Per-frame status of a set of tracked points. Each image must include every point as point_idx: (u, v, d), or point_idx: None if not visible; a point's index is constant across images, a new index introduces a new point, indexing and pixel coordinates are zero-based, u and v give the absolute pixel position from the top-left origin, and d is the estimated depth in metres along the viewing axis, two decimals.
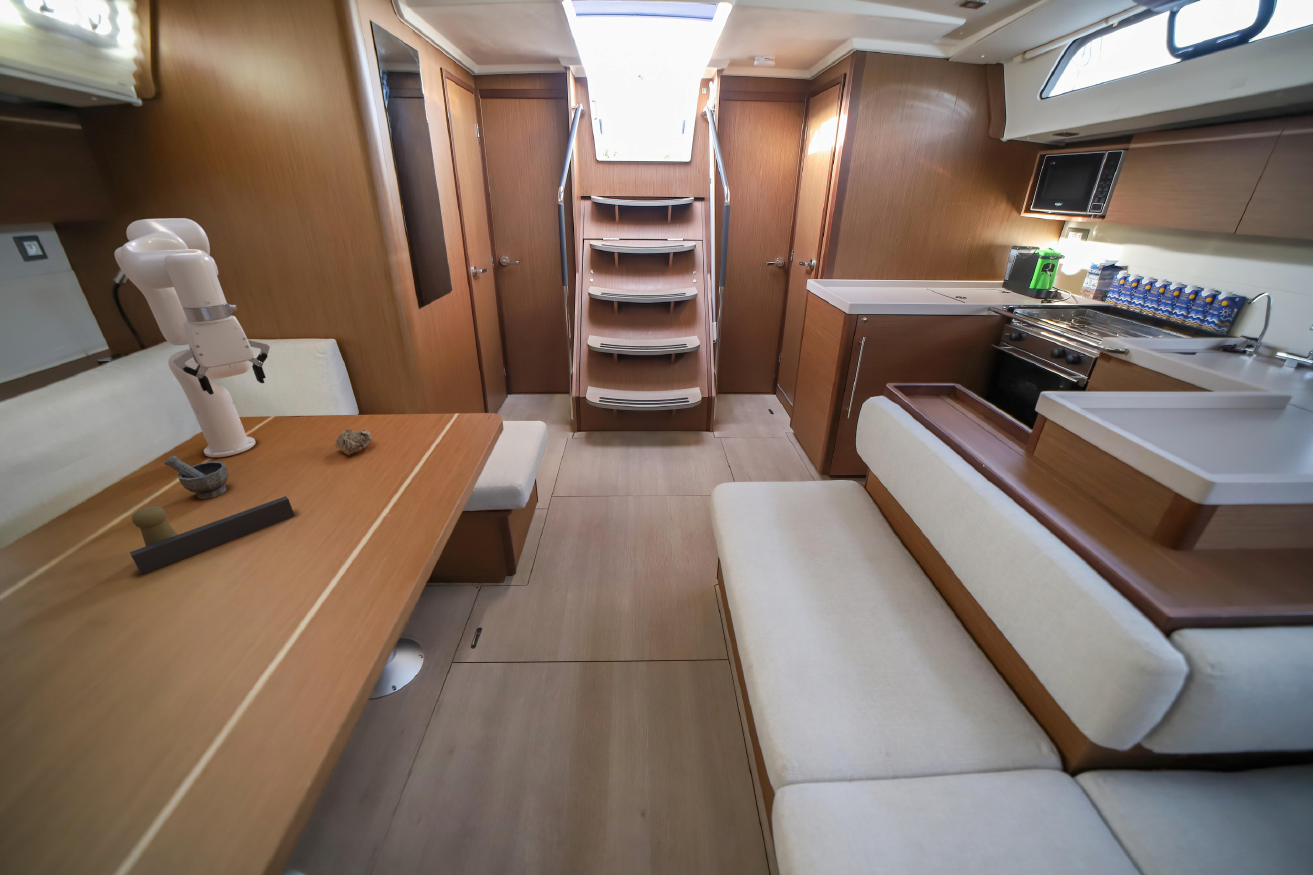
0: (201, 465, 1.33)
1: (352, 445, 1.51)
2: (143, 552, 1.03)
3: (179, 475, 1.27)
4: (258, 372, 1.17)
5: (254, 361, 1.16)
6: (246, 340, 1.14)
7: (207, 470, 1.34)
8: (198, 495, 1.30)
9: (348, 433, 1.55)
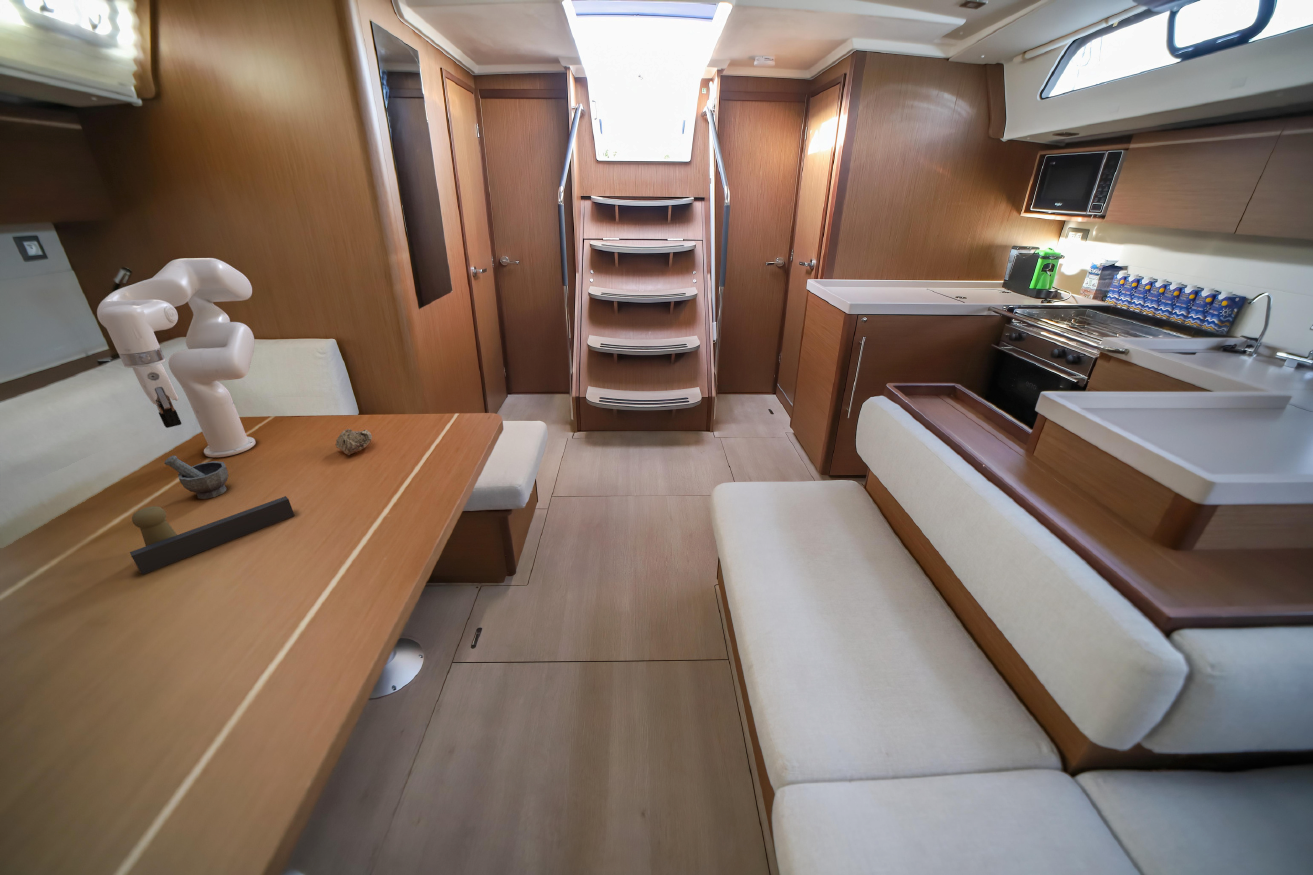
0: (201, 465, 1.33)
1: (352, 445, 1.51)
2: (143, 552, 1.03)
3: (179, 475, 1.27)
4: None
5: (158, 407, 1.26)
6: (146, 388, 1.22)
7: (207, 470, 1.34)
8: (198, 495, 1.30)
9: (348, 433, 1.55)
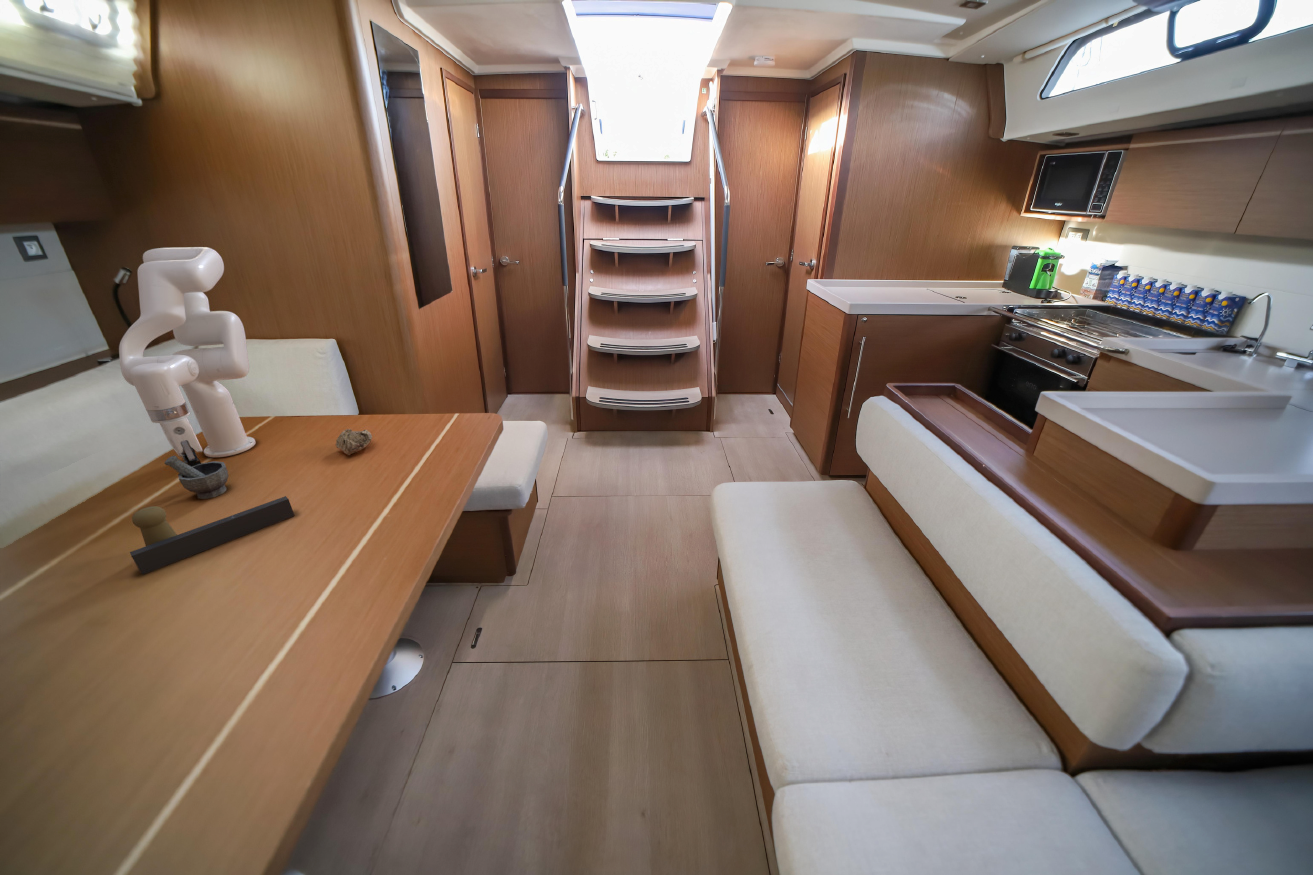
0: (202, 465, 1.33)
1: (352, 445, 1.51)
2: (143, 552, 1.03)
3: (179, 475, 1.27)
4: None
5: (183, 458, 1.31)
6: (173, 442, 1.26)
7: (207, 470, 1.34)
8: (198, 495, 1.30)
9: (348, 433, 1.55)
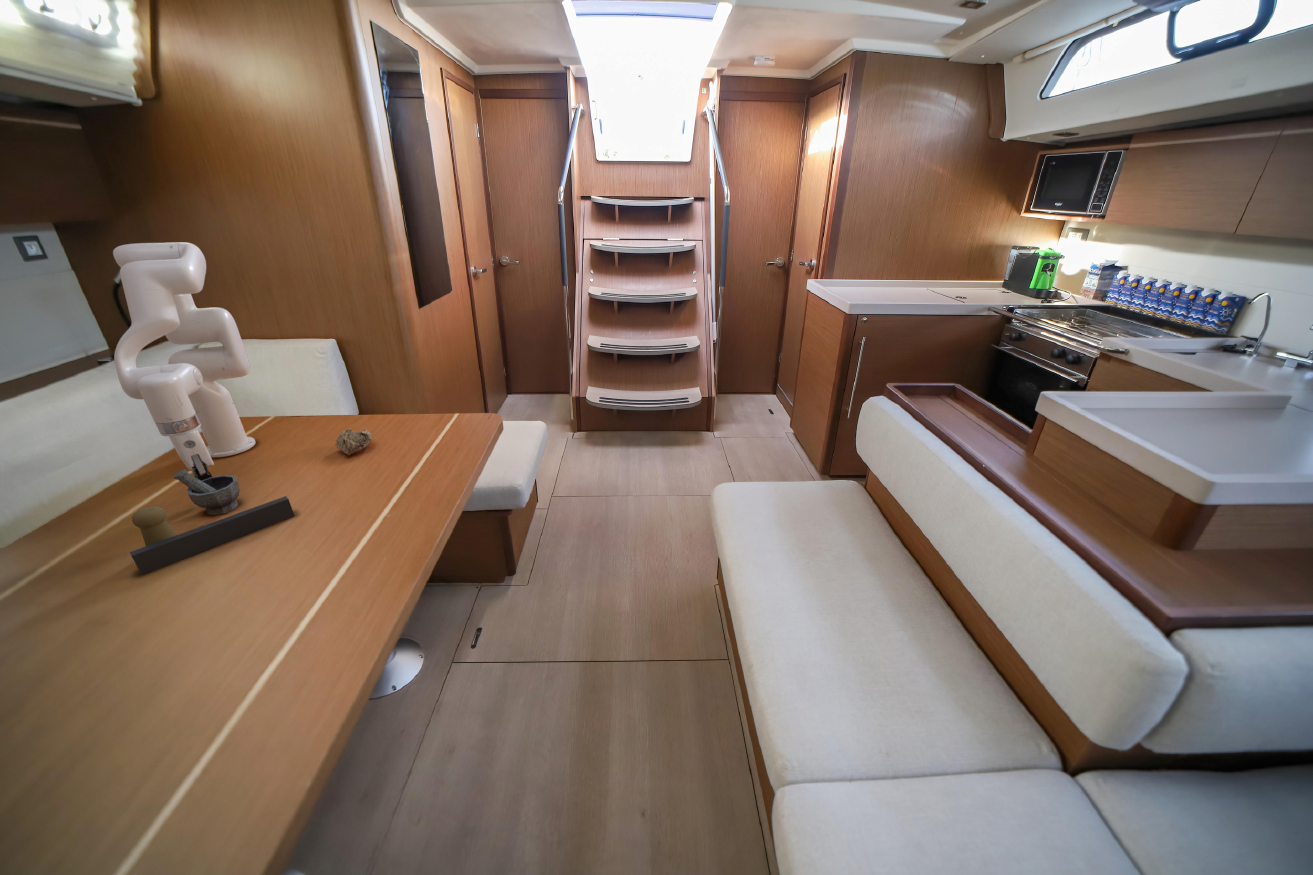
0: (213, 479, 1.26)
1: (352, 445, 1.51)
2: (143, 552, 1.03)
3: (189, 490, 1.21)
4: None
5: (193, 472, 1.25)
6: (183, 456, 1.20)
7: (218, 484, 1.27)
8: (208, 511, 1.24)
9: (348, 433, 1.55)
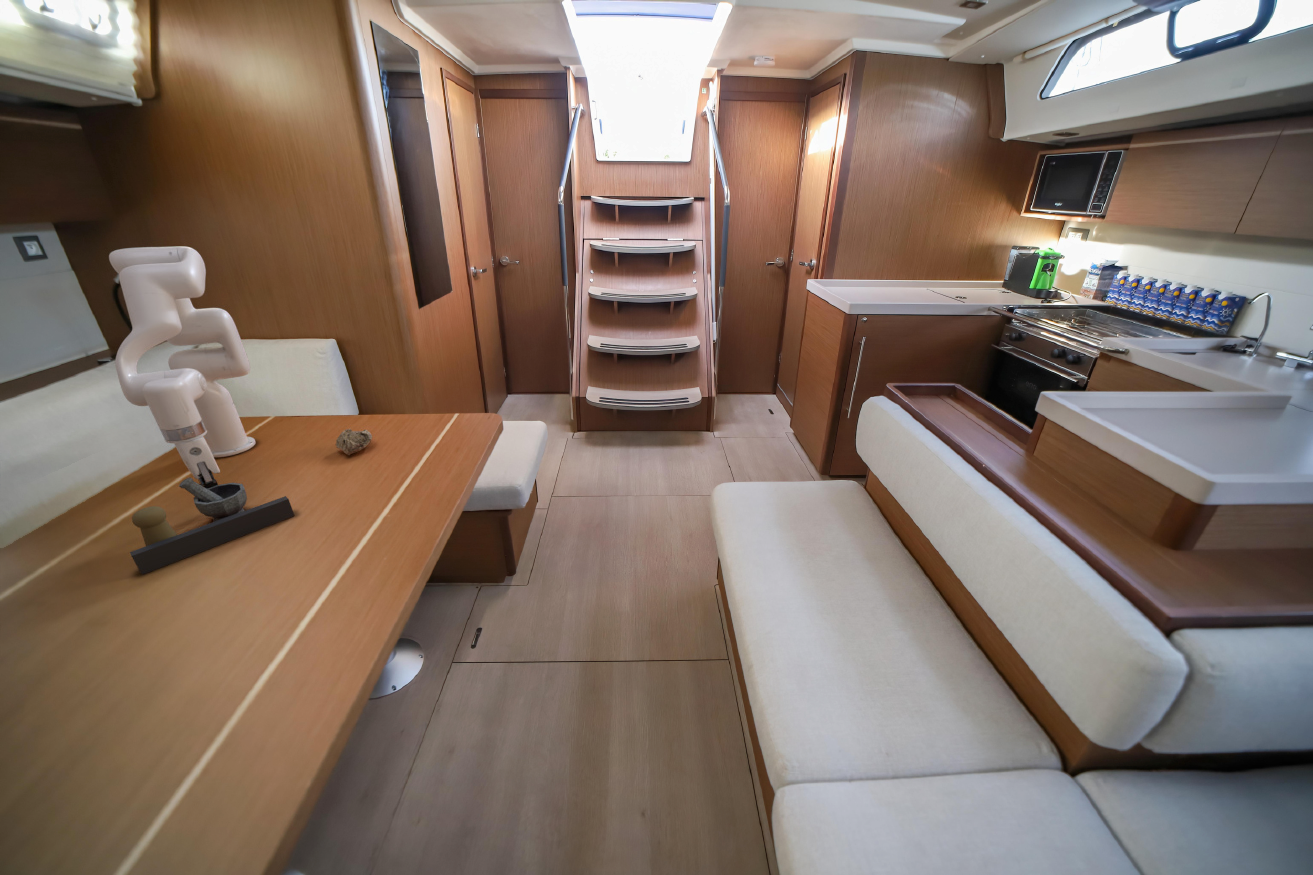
0: (219, 487, 1.23)
1: (352, 445, 1.51)
2: (143, 552, 1.03)
3: (195, 499, 1.18)
4: None
5: (199, 480, 1.21)
6: (188, 464, 1.16)
7: (225, 493, 1.24)
8: (215, 520, 1.20)
9: (348, 433, 1.55)
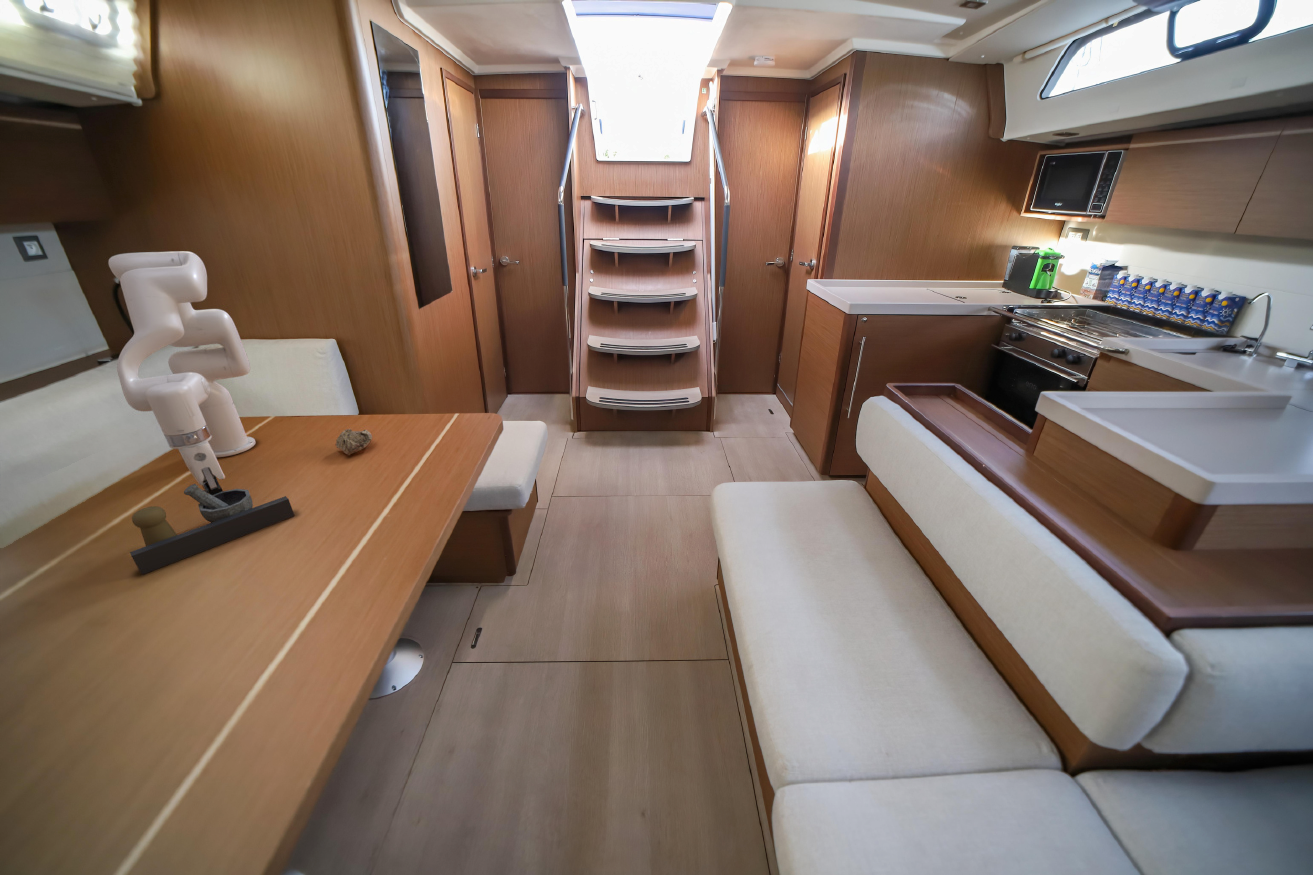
0: (224, 493, 1.21)
1: (352, 445, 1.51)
2: (143, 552, 1.03)
3: (200, 506, 1.15)
4: None
5: (203, 486, 1.19)
6: (193, 470, 1.14)
7: (230, 499, 1.22)
8: None
9: (348, 433, 1.55)
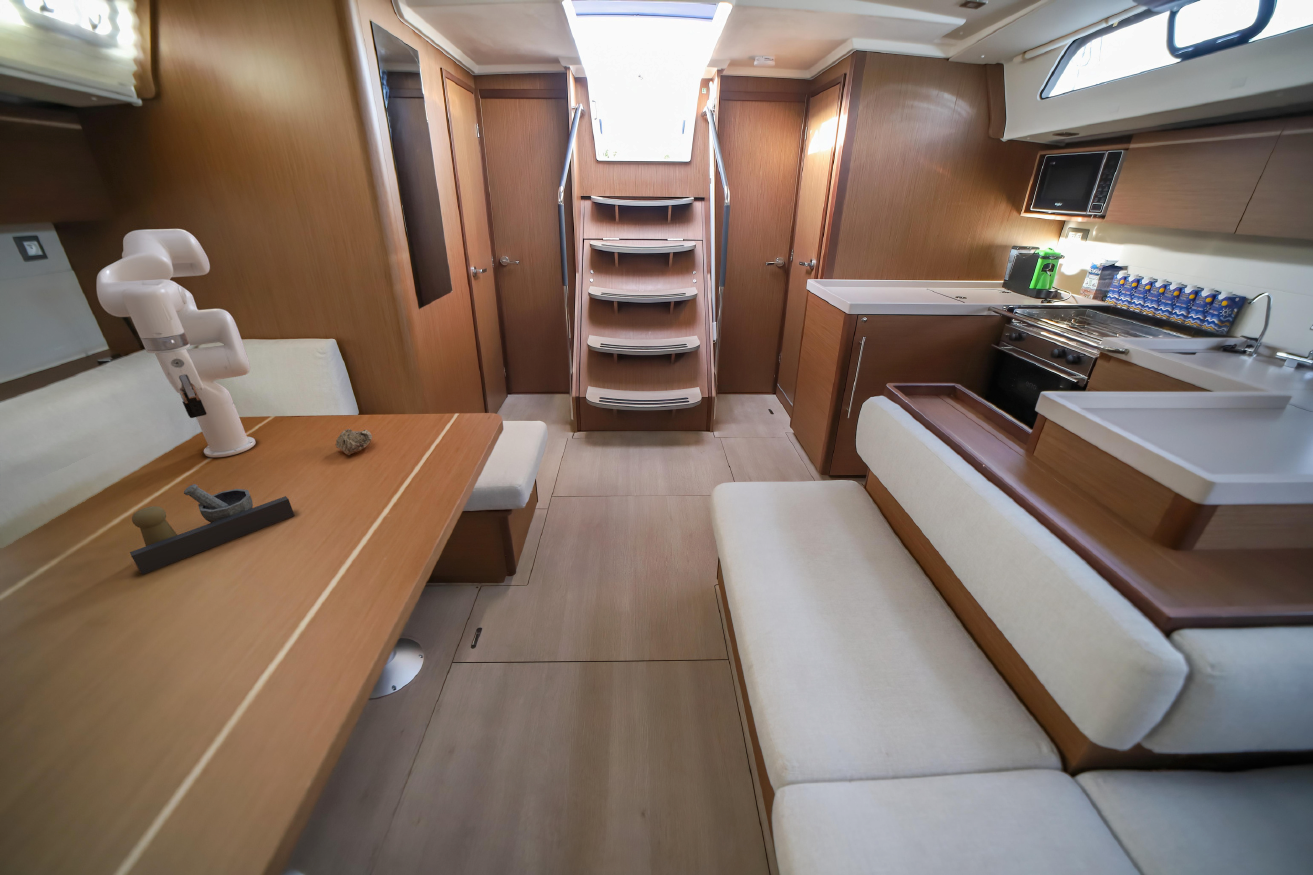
0: (224, 493, 1.21)
1: (352, 445, 1.51)
2: (143, 552, 1.03)
3: (200, 506, 1.15)
4: None
5: (182, 396, 1.18)
6: (170, 376, 1.13)
7: (230, 499, 1.21)
8: None
9: (348, 433, 1.55)
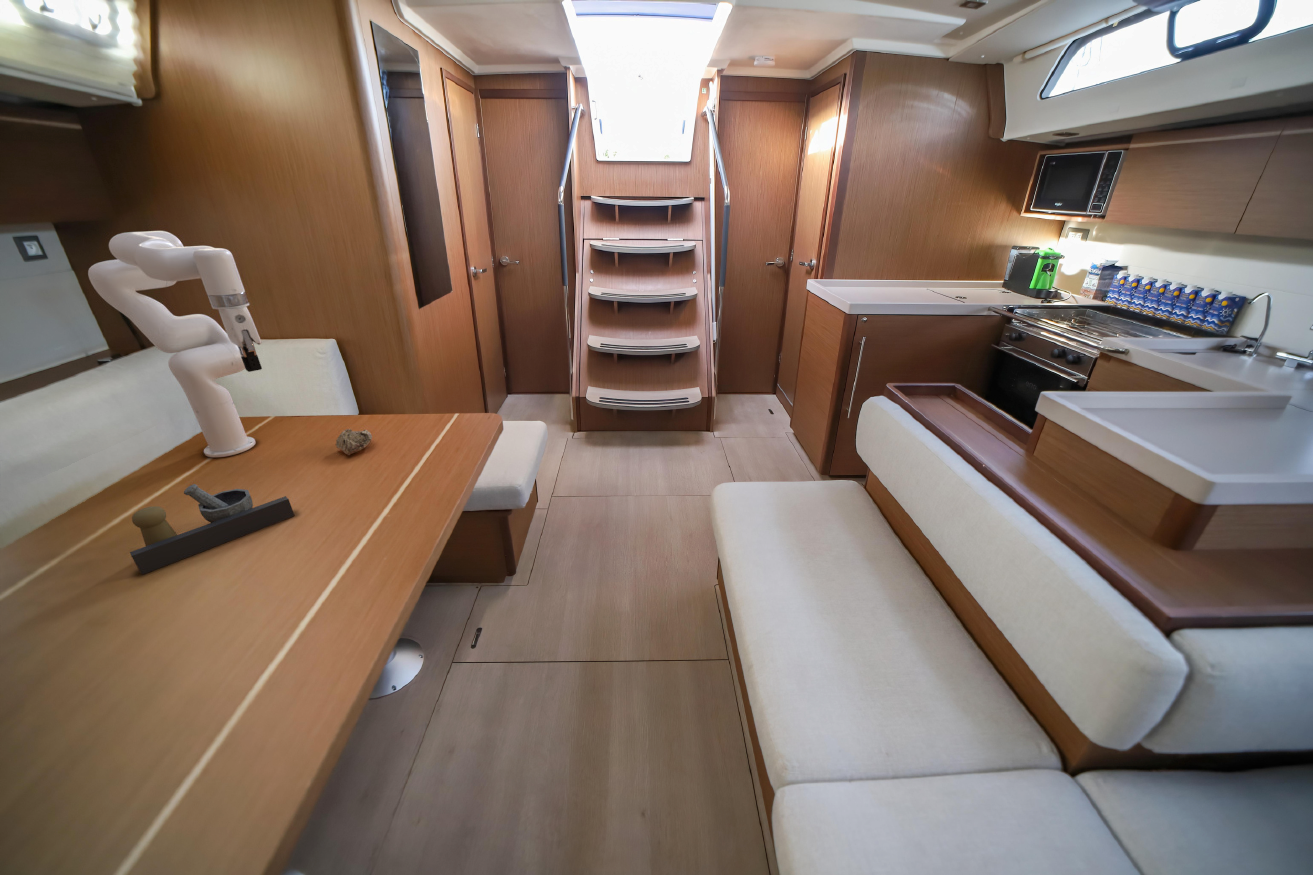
0: (224, 493, 1.21)
1: (352, 445, 1.51)
2: (143, 552, 1.03)
3: (200, 506, 1.15)
4: (244, 361, 1.32)
5: (241, 351, 1.30)
6: (234, 330, 1.25)
7: (230, 499, 1.21)
8: None
9: (348, 433, 1.55)
